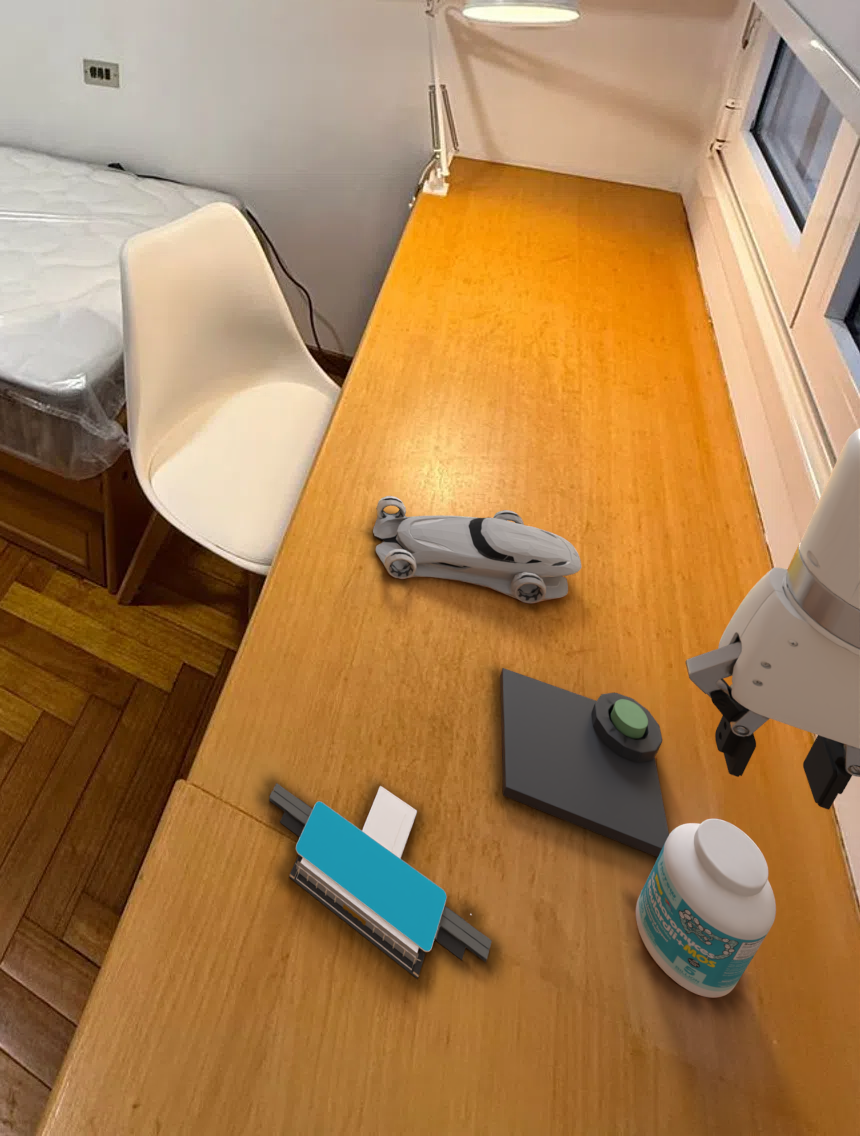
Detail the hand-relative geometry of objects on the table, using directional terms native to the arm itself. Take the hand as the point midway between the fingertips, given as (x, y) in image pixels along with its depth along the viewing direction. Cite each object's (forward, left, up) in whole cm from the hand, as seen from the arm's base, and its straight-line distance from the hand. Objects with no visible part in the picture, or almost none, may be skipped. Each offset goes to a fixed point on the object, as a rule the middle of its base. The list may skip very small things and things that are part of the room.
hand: (772, 770), depth 62 cm
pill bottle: (0, 0, -24) cm, 24 cm away
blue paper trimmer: (+25, +4, -24) cm, 35 cm away
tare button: (+3, -17, -21) cm, 27 cm away
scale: (+7, -13, -23) cm, 28 cm away
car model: (+17, -35, -24) cm, 45 cm away
